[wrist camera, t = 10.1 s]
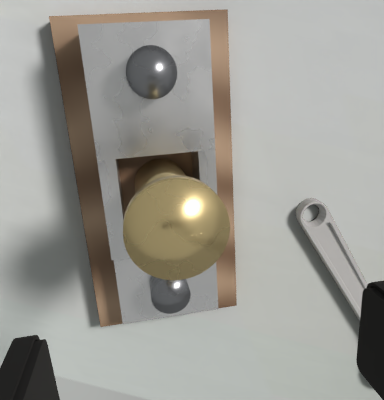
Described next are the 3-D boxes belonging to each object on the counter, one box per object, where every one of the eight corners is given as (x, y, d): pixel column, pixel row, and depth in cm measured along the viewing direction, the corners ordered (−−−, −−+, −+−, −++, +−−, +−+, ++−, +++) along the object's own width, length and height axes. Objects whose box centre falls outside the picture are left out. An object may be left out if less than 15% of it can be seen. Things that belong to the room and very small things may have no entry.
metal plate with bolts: (214, 299, 32) (228, 333, 28) (122, 313, 31) (122, 351, 27) (200, 26, 26) (216, 13, 21) (82, 31, 24) (73, 19, 20)
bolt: (198, 213, 30) (232, 272, 20) (128, 222, 29) (130, 287, 19) (193, 144, 28) (227, 173, 18) (119, 151, 27) (115, 186, 18)
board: (232, 298, 34) (236, 305, 33) (101, 318, 32) (100, 326, 31) (223, 12, 27) (227, 9, 25) (52, 19, 25) (49, 16, 24)
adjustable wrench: (286, 206, 33) (295, 212, 31) (348, 170, 33) (360, 174, 31) (373, 386, 41) (384, 398, 39) (422, 357, 41) (435, 368, 39)
